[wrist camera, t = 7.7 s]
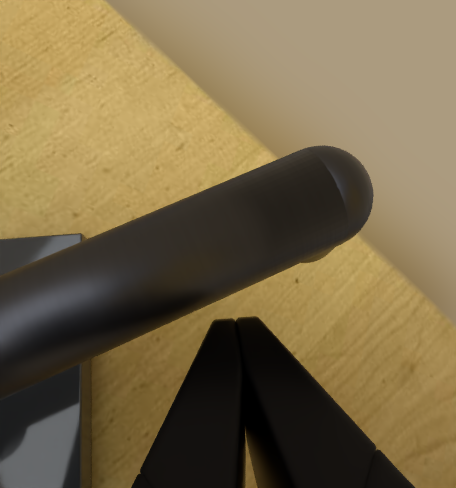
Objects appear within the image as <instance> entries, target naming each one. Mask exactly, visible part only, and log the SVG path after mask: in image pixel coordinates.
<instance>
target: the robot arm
mask: <svg viewBox="0 0 456 488" xmlns="http://www.w3.org/2000/svg"><path fill="white" fill-rule="evenodd" d="M245 431H246V438H247V443H248V448H249V453H250V457H251V461H252V466H253V470H254V474H255V478H256V483H257V487H258V488H415V487H414V486H413V485H412V484H411V483H410V482H409V481H408V480H407V479H406V478H405V477H404V476H403V474H402V473H401V472H400V471H399V470H398V469H397V468H396V467H395V466H394V465H393V464H392V463H391V462H390V460H389V459H388V458H387V457H386V456H385V455H384V454H383V453H382V452H381V451H380V450H376V446H375V444H374V443H373V442H372V441H371V440H370V439H369V438H368V437H367V436H366V434H365V433H364V432H363V431H362V430H361V429H360V428H359V427H358V426H357V425H356V424H355V422H354V421H353V420H352V419H351V418H350V417H349V416H348V415H347V414H346V413H345V412H344V410H343V409H342V408H341V407H340V406H339V405H338V404H337V403H336V402H335V401H334V400H333V398H332V397H331V396H330V395H329V394H328V393H327V392H326V391H325V390H324V389H323V388H322V386H321V385H320V384H319V383H318V382H317V381H316V380H315V379H314V378H313V377H312V376H311V374H310V373H309V372H308V371H307V370H306V369H305V368H304V367H303V366H302V365H301V364H300V362H299V361H298V360H297V359H296V358H295V357H294V356H293V355H292V354H291V353H290V352H289V350H288V349H287V348H286V347H285V346H284V345H283V344H282V343H281V342H280V341H279V340H278V338H277V337H276V336H275V335H274V334H273V333H272V332H271V331H270V330H269V329H268V327H267V326H266V325H265V324H264V323H263V322H262V321H261V320H260V319H259V318H258V317H255V316H253V317H242V318H238V319H237V320H236V322H235V320H234V319H232V318H230V319H219V320H214V321H213V322H212V324H211V326H210V328H209V330H208V332H207V334H206V336H205V338H204V340H203V342H202V344H201V346H200V348H199V350H198V352H197V354H196V356H195V358H194V360H193V362H192V365H191V367H190V369H189V371H188V373H187V375H186V377H185V379H184V381H183V383H182V385H181V387H180V389H179V391H178V393H177V395H176V397H175V399H174V401H173V404H172V406H171V408H170V410H169V412H168V414H167V416H166V418H165V420H164V422H163V424H162V426H161V428H160V430H159V432H158V434H157V436H156V438H155V440H154V443H153V445H152V447H151V449H150V451H149V453H148V455H147V457H146V459H145V461H144V463H143V465H142V467H141V469H140V473H141V474H138V475H137V477H136V479H135V481H134V483H133V485H132V487H131V488H245V469H246V442H245Z"/></svg>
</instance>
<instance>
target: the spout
mask: <svg viewBox="0 0 456 488" xmlns="http://www.w3.org/2000/svg"><path fill="white" fill-rule="evenodd" d="M372 203H373V188H372V183H371V180H370V177H369V175H368V173H367V171H366V170H365V168H364V166H363V165H362V164H361V162H360V161H359V160H358V159H356V158H355V157H354V156H352V155H351V154H350V153H348V152H346V151H344V150H341V149H339V148H335V147H331V146H314V147H308V148H305V149H302V150H300V151H297V152H295V153H292V154H290V155H288V156H285V157H283V158H280V159H278V160H275V161H273V162H271V163H268V164H266V165H264V166H261V167H259V168H256V169H254V170H252V171H249V172H247V173H244V174H242V175H240V176H237V177H235V178H232V179H230V180H228V181H225V182H223V183H221V184H218V185H216V186H213V187H211V188H209V189H206V190H204V191H201V192H199V193H197V194H194V195H192V196H189V197H187V198H185V199H182V200H180V201H178V202H175V203H173V204H170V205H168V206H166V207H163V208H161V209H158V210H156V211H154V212H151V213H149V214H146V215H144V216H142V217H139V218H137V219H135V220H132V221H130V222H127V223H125V224H123V225H120V226H118V227H115V228H113V229H111V230H108V231H106V232H103V233H101V234H99V235H96V236H94V237H92V238H89V239H87V240H84V241H82V242H80V243H77V244H75V245H72V246H70V247H68V248H65V249H63V250H60V251H58V252H56V253H53V254H51V255H48V256H46V257H44V258H41V259H39V260H37V261H34V262H32V263H29V264H27V265H25V266H22V267H20V268H17V269H15V270H13V271H10V272H8V273H5V274H3V275H1V276H0V400H2V399H4V398H6V397H8V396H10V395H13V394H15V393H17V392H19V391H21V390H24V389H26V388H28V387H30V386H32V385H34V384H37V383H39V382H41V381H43V380H45V379H48V378H50V377H52V376H54V375H56V374H59V373H61V372H63V371H65V370H67V369H69V368H72V367H74V366H76V365H78V364H80V363H83V362H85V361H87V360H89V359H91V358H94V357H96V356H98V355H100V354H102V353H104V352H107V351H109V350H111V349H113V348H115V347H118V346H120V345H122V344H124V343H126V342H129V341H131V340H133V339H135V338H137V337H139V336H142V335H144V334H146V333H148V332H150V331H153V330H155V329H157V328H159V327H161V326H163V325H166V324H168V323H170V322H172V321H174V320H177V319H179V318H181V317H183V316H185V315H188V314H190V313H192V312H194V311H196V310H198V309H201V308H203V307H205V306H207V305H209V304H212V303H214V302H216V301H218V300H220V299H223V298H225V297H227V296H229V295H231V294H233V293H236V292H238V291H240V290H242V289H244V288H247V287H249V286H251V285H253V284H255V283H258V282H260V281H262V280H264V279H266V278H268V277H271V276H273V275H275V274H277V273H279V272H282V271H284V270H286V269H288V268H290V267H292V266H295V265H297V264H299V263H310V262H314V261H317V260H320V259H321V258H323V257H325V256H326V255H327V254H328V253H330V252H331V251H332V250H333V249H334V248H335V247H336V246H338V245H341V244H343V243H344V242H346V241H347V240H349V239H351V238H353V237H354V236H355V235H356V234H357V233H358V232H359V231H360V230H361V228H362V227H363V225H364V224H365V223H366V221H367V220H368V217H369V215H370V212H371V209H372Z"/></svg>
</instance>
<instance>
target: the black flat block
mask: <svg viewBox="0 0 456 488" xmlns="http://www.w3.org/2000/svg"><path fill="white" fill-rule="evenodd" d="M84 240H87V238H86V237H85V236H84V235H82V234H81V233H78V234H65V235H52V236H38V237H25V238H12V239H0V276H1V275H3V274H5V273H8V272H10V271H13V270H15V269H17V268H20V267H22V266H25V265H27V264H29V263H32V262H34V261H37V260H39V259H41V258H44V257H46V256H48V255H51V254H53V253H56V252H58V251H60V250H63V249H65V248H68V247H70V246H72V245H75V244H77V243H80V242H82V241H84ZM0 488H91V359H89V360H87V361H85V362H83V363H80V364H78V365H76V366H74V367H72V368H69V369H67V370H65V371H63V372H61V373H59V374H56V375H54V376H52V377H50V378H48V379H45V380H43V381H41V382H39V383H37V384H34V385H32V386H30V387H28V388H26V389H24V390H21V391H19V392H17V393H15V394H13V395H10V396H8V397H6V398H4V399H2V400H0Z"/></svg>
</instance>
